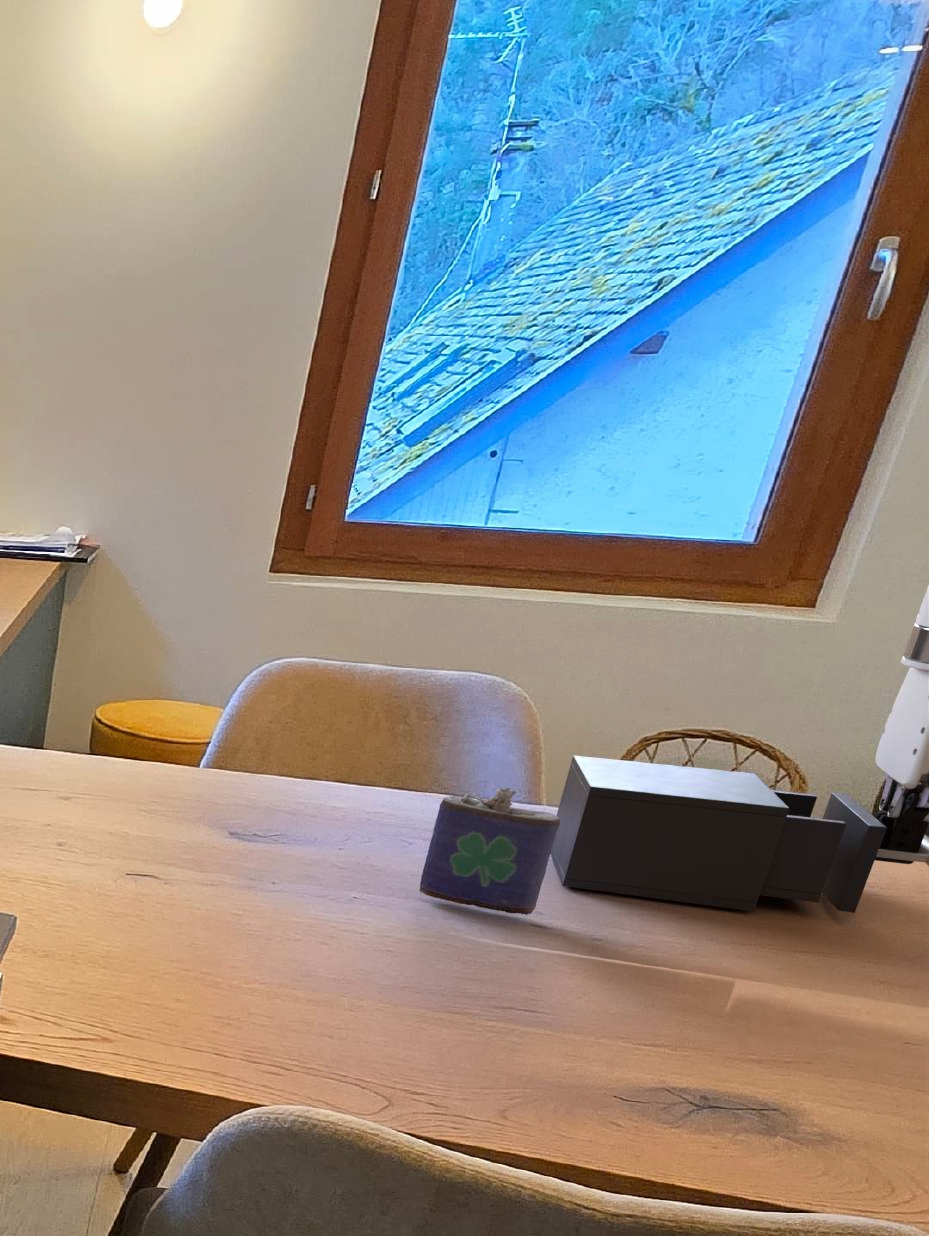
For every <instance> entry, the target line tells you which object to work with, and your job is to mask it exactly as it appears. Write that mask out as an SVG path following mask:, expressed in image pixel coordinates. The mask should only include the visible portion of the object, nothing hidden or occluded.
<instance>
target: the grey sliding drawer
mask: <svg viewBox="0 0 929 1236" xmlns="http://www.w3.org/2000/svg"><path fill="white" fill-rule="evenodd" d="M771 790H772V791H773V792H774V793H775V794H776V795H777V796H778V797H779V798H780V799H781V800H782V801H783V802H784V803H785V804H786V805H787V806H788V807H789V812H788V815H787V816H786V817H787V818H786V821H785V823H784V826H783V829H782V832H781V835H780V838H779V841H778V844H777V847H776V850H775V852H774V855H773V858H772V861H771V864H770V867H769V870H768V873H767V876H766V879H765V881H764V884H763V887H762V890H761V893H760V896H763V897H764V896H765V897H772V898H780V899H787V900H795V901H801V902H810V903H819V900H820V898H821V894H822V895H823V896H824V897H825V898H826V899H827V900H828V902H829V903H830V904H831V905H832V906H833V907H834V909H836V910H837V911H838V912H844V913H851V914H855V913H856V911H857V908H858V906H859V904H860V900H861V898H862V896H863V893H864V890H865V887H866V885H867V882H868V879H869V876H870V874H871V871H872V869H873V865H874V863H875V861H876V860H875V858H876V857H882V858H891V859H899V860H908V861H914V862H918V863H925V864H926V865H927V866H928V867H929V836H928V835H926V834H925V835H924V838H923V841H922V843H921V846H920V848H919V851H918V853H910V852H901V851H893V850H884V849H879V847H880V845H881V842H882V839H883V837H884V834H885V831H886V829H887V827H885V826H884V825H883V824H882V823H881V822H880V821H878V820H877V819H876V818H875V817H876V816H874V815H873V814H872V813H870V812H869V811H868V810H867V809H866V808H865V807H863V806H862V805H861V804H860V803H859V802H858V801H856V800H855V799H854V798H853V797H851V795H849V794H848V793H840V792H831V793H830V796H829V799H828V802H827V805H826V807H825V810H824V813H823V816H822V818H817V817H812V814H813V811H814V808H815V805H816V802H817V799H818V796H817V795H816V794H813V793H812V794H811V793H803V792H793V791H784V790H774V789H771Z"/></svg>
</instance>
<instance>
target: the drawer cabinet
mask: <svg viewBox="0 0 929 1236" xmlns="http://www.w3.org/2000/svg"><path fill="white" fill-rule="evenodd" d="M772 790H773V789H772V788H770V787H769V786H768V785H767V784H766V783H765V781H763V780H762V779H761V778H760V777H759V776H758V775H757V774H756V773H751V772H742V771H732V770H724V769H723V770H722V769H712V768H701V767H694V766H693V767H692V766H683V765H682V766H681V765H671V764H664V763H663V764H662V763H652V762H642V761H633V760H625V759H624V760H623V759H613V758H605V757H603V758H602V757H593V756H583V755H573V756H572V758H571V761H570V765H569V769H568V773H567V776H566V779H565V783H564V786H563V789H562V794H561V797H560V801H559V805H558V809H557V812H556V814H555V815H556V816H558V817H559V819H560V825H559V828H558V830H557V832H556V837H555V840H554V843H553V846H552V850H551V854H550V856H551V860H552V862H553V866H554V868H555V871H556V873H557V876H558V878H559V880H560V883H561V885H562V887H566V888H567V887H568V888H574V889H582V890H589V891H597V892H604V893H611V894H617V895H618V894H620V895H626V896H635V897H642V898H649V899H656V900H664V901H673V902H678V903H679V902H680V903H685V904H686V903H687V904H693V905H702V906H707V907H708V906H709V907H716V908H723V909H724V908H725V909H732V910H740V911H747V912H755V910H756V907H757V905H758V902H759V898H760V896H761V895H760V893H761V890H762V887H763V884H764V881H765V879H766V876H767V873H768V870H769V867H770V864H771V861H772V858H773V855H774V852H775V850H776V847H777V844H778V841H779V838H780V835H781V832H782V829H783V826H784V823H785V821H786V818H787V817H786V816H787V815H788V812H789V807H788V806H787V805H786V804H785V803H784V802H783V801H782V800H781V799H780V798H779V797H778V796H777V795H776V794H775V793H774V792H773V791H772Z"/></svg>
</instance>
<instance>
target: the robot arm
mask: <svg viewBox="0 0 929 1236" xmlns="http://www.w3.org/2000/svg"><path fill="white" fill-rule="evenodd" d="M900 664H902V665H903V666H906V667H909V669H908V672H907V673H906V676H905V677H904V679H903V681H902V684H901V687H900V689H899V691H898V693H897V695H896V698H895V700H894V703H893V705H892V708H891V710H890V711H889V715H888V718H887V720H886V722H885V725H884V727H883V730H882V734H881V737H880V739H879V741H878V742H879V743H878V746H877V749H876V753H875V759H874V761H875V764H876V766H877V767H878V768H879V769H880V770H881V771H883V772H884V773H885V775H884V779H885V785H884V788H883V791H882V795H881V797H880V801H879V804H878V810H879V811H877V812H876V815H875V816H874V817H875V818H876V819H877V820H878V821H880V822H881V823H882V824H883V825H884V826H885V827H887V829H886V831H885V834H884V837H883V839H882V842H881V845H880V847H879V849H884V850H893V851H901V852H910V853H918V851H919V848H920V846H921V843H922V841H923V838H924V835H926V832H927V830H928V827H929V584H928V585H927V589H926V591H925V593H924V596H923V599H922V601H921V604H920V608H919V611H918V613H917V616H916V618H915V622H914V624H913V627H912V629H911V632H910V635H909V638H908V641H907V644H906V646H905V648H904V651H903V654H902V657H901V660H900ZM875 861H878V862H885V863H895V864H902V865H903V864H904V865H912V864H913V863H914V862H915V861H908V860H899V859H891V858H882V857H876V858H875Z"/></svg>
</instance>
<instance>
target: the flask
mask: <svg viewBox="0 0 929 1236" xmlns="http://www.w3.org/2000/svg"><path fill="white" fill-rule="evenodd" d="M495 793H496V794H495V796H494V797H489V798H487V799H483V798H482V797H479V796H475V797H474V798H475V799H474V798H473V797H471V794H470V793H466V794H464V795H463V796H454V795H453V796H452V795H451V796H445V797H444V798H443V799H442V801H441V802H440V804H439V808H438V812H437V815H436V819H435V823H434V827H433V831H432V836H431V840H430V843H429V846H428V850H427V855H426V857H425V862H424V866H423V869H422V874H421V877H420V882H419V890H418V891H419V893H420V894H424V895H425V896H428V897H431V898H435V899H440V900H442V901H443V900H444V901H447V902H451V903H454V904H458V905H466V906H474V907H477V908H480V909H486V910H487V909H488V910H490V911H498V912H505V913H506V914H507V913H508V914H520V915H526V916H528V915H530V914H532V913H533V912H534V910H535V909H536V907H537V903H538V899H539V895H540V892H541V887H542V884H543V881H544V879H545V876H546V872H547V866H548V863H549V859H550V856H551V850H552V846H553V843H554V840H555V837H556V832H557V830H558V828H559V825H560V819H559V817H558V816H556V815H557V814H554V813H551V812H546V811H539V810H538V811H537V810H532V809H531V810H530V809H525V808H518V807H517V808H515V807H511V806H512V805H513V803H512V802H511V799H512V798H513V795H516V794H517V791H516V790H515V789H512V788H511V789H510V788H509V787H505V788H503V787H502V788H496V790H495Z"/></svg>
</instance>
